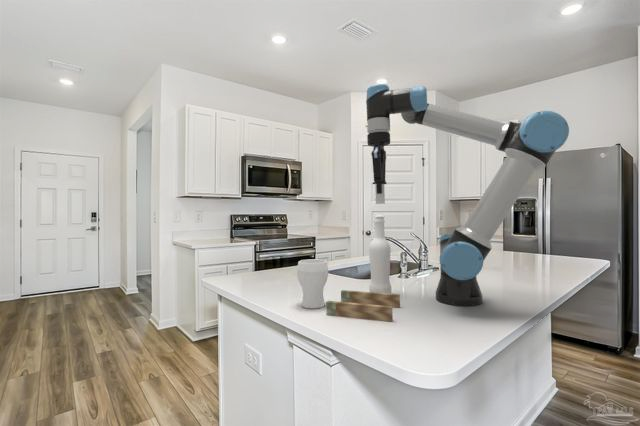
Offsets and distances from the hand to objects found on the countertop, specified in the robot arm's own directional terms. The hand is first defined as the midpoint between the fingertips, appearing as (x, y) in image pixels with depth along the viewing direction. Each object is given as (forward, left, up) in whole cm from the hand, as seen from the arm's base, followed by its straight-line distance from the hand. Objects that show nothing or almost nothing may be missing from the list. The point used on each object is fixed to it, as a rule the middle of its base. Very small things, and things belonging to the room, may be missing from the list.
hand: (380, 203), depth 114 cm
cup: (+22, +8, -34) cm, 41 cm away
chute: (+4, +8, -34) cm, 35 cm away
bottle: (+3, -12, -34) cm, 37 cm away
